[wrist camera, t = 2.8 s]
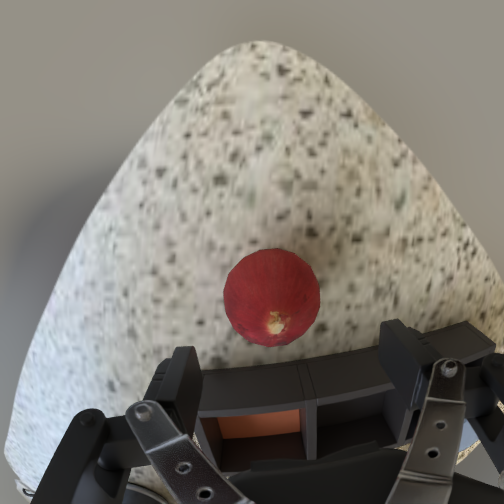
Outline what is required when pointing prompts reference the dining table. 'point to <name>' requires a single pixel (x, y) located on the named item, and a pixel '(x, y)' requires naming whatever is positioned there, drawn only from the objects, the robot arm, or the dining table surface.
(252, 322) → the onion
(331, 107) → the dining table surface
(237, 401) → the holder
